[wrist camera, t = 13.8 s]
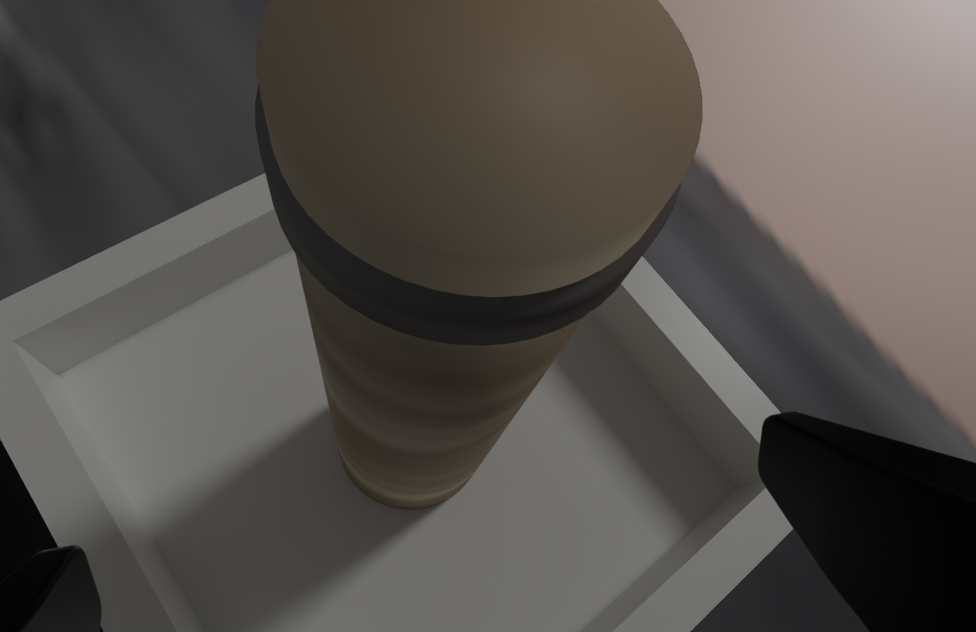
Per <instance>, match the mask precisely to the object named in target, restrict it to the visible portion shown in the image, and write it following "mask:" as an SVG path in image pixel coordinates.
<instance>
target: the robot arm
mask: <svg viewBox="0 0 976 632" xmlns="http://www.w3.org/2000/svg"><path fill="white" fill-rule="evenodd" d="M757 465H758V472H759V476H760V478H761V480H762V482H763V484H764V485H765V487H766V488H767V490H768V491H769V493H770V494H771V496H772V498H773V499H774V501H775V502H776V504H777V505H778V507H779V508H780V510H781V511H782V513H783V514H784V516H785V517H786V519H787V520H788V522H789V523H790V525H791V526H792V528H793V529H794V531H795V532H796V534H797V535H798V537H799V538H800V540H801V541H802V543H803V544H804V546H805V547H806V549H807V550H808V552H809V554H810V555H811V556H812V558H813V559H814V561H815V562H816V564H817V565H818V566H819V568H820V569H821V570H822V572H823V573H824V574H825V576H826V577H827V578H828V580H829V581H830V582H831V584H832V585H833V586H834V587H835V588H836V590H837V591H838V592H839V593H840V595H841V596H842V597H843V598H844V600H845V601H846V602H847V603H848V605H849V606H850V607H851V608H852V610H853V611H854V612H855V613H856V615H857V616H858V617H859V618H860V620H861V621H862V622H863V623H864V624H865V626H866V627H867V628H868V629H869V631H870V632H976V463H974V462H971V461H967V460H964V459H960V458H957V457H953V456H950V455H946V454H943V453H939V452H936V451H932V450H929V449H925V448H922V447H918V446H915V445H911V444H908V443H904V442H900V441H897V440H893V439H890V438H886V437H883V436H879V435H876V434H872V433H869V432H865V431H862V430H858V429H855V428H851V427H848V426H844V425H841V424H837V423H834V422H830V421H827V420H823V419H820V418H816V417H813V416H809V415H806V414H802V413H799V412H785V413H779V414H774V415H770V416H768V417H767V418H766V419H765V420H764V422H763V425H762V431H761V439H760V447H759V455H758V464H757ZM101 616H102V608H101V600H100V596H99V593H98V590H97V587H96V584H95V581H94V578H93V575H92V572H91V569H90V566H89V563H88V560H87V557H86V554H85V552H84V551H83V549H82V548H81V547H79V546H77V545H69V546H64V547H58V548H53V549H48V550H43V551H40V552H38V553H36V554H35V555H34V556H32V557H31V558H30V559H28V560H27V561H26V562H25V563H23V564H22V565H21V566H20V567H18V568H17V569H16V570H15V571H13V572H12V573H11V574H10V575H8V576H7V577H6V578H5V579H3V580H2V581H1V582H0V632H99V630H100V624H101Z"/></svg>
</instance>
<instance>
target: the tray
mask: <svg viewBox="0 0 976 632" xmlns="http://www.w3.org/2000/svg"><path fill="white" fill-rule="evenodd" d="M779 413H780V411H779V410H778V409H777V408H776V407H775V406H774V405H773V404H772V402H771V401H770V400H769V399H768V398H767V397H766V396H765V394H764V393H763V392H762V391H761V390H760V389H759V388H758V387H757V385H756V384H755V383H754V382H753V381H752V380H751V379H750V378H749V376H748V375H747V374H746V373H745V372H744V371H743V370H742V368H741V367H740V366H739V365H738V364H737V363H736V362H735V361H734V359H733V358H732V357H731V356H730V355H729V354H728V353H727V352H726V350H725V349H724V348H723V347H722V346H721V345H720V344H719V342H718V341H717V340H716V339H715V338H714V337H713V336H712V335H711V333H710V332H709V331H708V330H707V329H706V328H705V327H704V326H703V324H702V323H701V322H700V321H699V320H698V319H697V318H696V317H695V315H694V314H693V313H692V312H691V311H690V310H689V309H688V307H687V306H686V305H685V304H684V303H683V302H682V301H681V300H680V298H679V297H678V296H677V295H676V294H675V293H674V292H673V291H672V289H671V288H670V287H669V286H668V285H667V284H666V283H665V281H664V280H663V279H662V278H661V277H660V276H659V275H658V274H657V272H656V271H655V270H654V269H653V268H652V267H651V266H650V265H649V263H648V262H647V261H646V260H645V259H644V258H643V257H641V258H640V259H639V261H638V262H637V263H636V265H635V266H634V267H633V269H632V270H631V271H630V273H629V274H628V275H627V277H626V278H625V279H624V280H623V282H622V283H621V284H620V286H619V287H618V288H617V290H615V291H614V292H613V293H612V294H611V295H610V296H609V297H608V298H607V299H606V300H605V301H604V302H603V303H602V304H601V305H600V306H598V307H597V308H595V309H594V310H592V311H591V312H590V313H588V314H587V315H586V317H585V318H584V319H583V321H582V322H581V324H580V325H579V326H578V328H577V329H576V331H575V332H574V334H573V335H572V336H571V338H570V339H569V341H568V342H567V343H566V345H565V346H564V348H563V349H562V350H561V352H560V353H559V355H558V356H557V357H556V359H555V360H554V362H553V363H552V364H551V366H550V367H549V369H548V370H547V372H546V373H545V374H544V376H543V377H542V379H541V380H540V381H539V383H538V384H537V386H536V387H535V388H534V390H533V391H532V393H531V394H530V395H529V397H528V398H527V400H526V401H525V403H524V404H523V405H522V407H521V408H520V410H519V411H518V412H517V414H516V415H515V417H514V418H513V419H512V421H511V422H510V424H509V425H508V426H507V428H506V429H505V431H504V432H503V433H502V435H501V436H500V438H499V439H498V441H497V442H496V443H495V445H494V446H493V448H492V449H491V450H490V452H489V453H488V455H487V456H486V457H485V459H484V460H483V462H482V463H481V464H480V466H479V467H478V469H477V470H476V471H475V473H474V474H473V476H472V477H471V478H470V480H469V481H468V482H467V484H466V485H465V486H464V487H463V488H462V489H461V490H460V491H459V492H457V493H456V494H455V495H453V496H452V497H451V498H449V499H447V500H446V501H444V502H442V503H439V504H437V505H434V506H431V507H427V508H423V509H414V510H409V509H398V508H392V507H389V506H386V505H383V504H381V503H379V502H376V501H374V500H373V499H371V498H370V497H368V496H367V495H365V494H364V493H363V492H362V491H361V490H359V489H358V488H357V486H356V485H355V484H354V483H353V482H352V480H351V479H350V478H349V476H348V475H347V473H346V471H345V469H344V467H343V465H342V462H341V459H340V455H339V451H338V446H337V442H336V437H335V432H334V428H333V423H332V419H331V414H330V410H329V405H328V400H327V396H326V391H325V387H324V382H323V378H322V373H321V369H320V364H319V359H318V355H317V350H316V346H315V341H314V337H313V332H312V327H311V323H310V318H309V314H308V309H307V305H306V300H305V295H304V291H303V286H302V282H301V277H300V273H299V268H298V264H297V259H296V254H295V252H294V250H293V249H292V247H291V245H290V243H289V242H288V240H287V238H286V236H285V234H284V232H283V230H282V228H281V226H280V223H279V220H278V217H277V215H276V212H275V209H274V206H273V202H272V198H271V194H270V190H269V186H268V182H267V178H266V174H265V173H264V174H262V175H260V176H258V177H256V178H254V179H252V180H249V181H247V182H245V183H243V184H241V185H239V186H237V187H235V188H233V189H231V190H229V191H227V192H225V193H223V194H220V195H218V196H216V197H214V198H212V199H210V200H208V201H206V202H204V203H202V204H200V205H198V206H196V207H194V208H191V209H189V210H187V211H185V212H183V213H181V214H179V215H177V216H175V217H173V218H171V219H169V220H167V221H165V222H162V223H160V224H158V225H156V226H154V227H152V228H150V229H148V230H146V231H144V232H142V233H140V234H138V235H136V236H134V237H131V238H129V239H127V240H125V241H123V242H121V243H119V244H117V245H115V246H113V247H111V248H109V249H107V250H105V251H102V252H100V253H98V254H96V255H94V256H92V257H90V258H88V259H86V260H84V261H82V262H80V263H78V264H76V265H73V266H71V267H69V268H67V269H65V270H63V271H61V272H59V273H57V274H55V275H53V276H51V277H49V278H47V279H45V280H42V281H40V282H38V283H36V284H34V285H32V286H30V287H28V288H26V289H24V290H22V291H20V292H18V293H16V294H13V295H11V296H9V297H7V298H5V299H3V300H1V301H0V439H1V441H2V443H3V445H4V447H5V448H6V450H7V452H8V454H9V456H10V458H11V460H12V461H13V463H14V465H15V467H16V469H17V471H18V473H19V475H20V476H21V478H22V480H23V482H24V484H25V486H26V488H27V489H28V491H29V493H30V495H31V497H32V499H33V501H34V502H35V504H36V506H37V508H38V510H39V512H40V514H41V515H42V517H43V519H44V521H45V523H46V525H47V527H48V529H49V530H50V532H51V534H52V536H53V538H54V540H55V542H56V543H57V545H58V547H64V546H69V545H77V546H79V547H81V548H82V549H83V551H84V552H85V554H86V557H87V560H88V563H89V566H90V569H91V572H92V575H93V578H94V581H95V584H96V587H97V590H98V593H99V596H100V600H101V608H102V616H101V624H100V625H101V627H102V629H103V631H104V632H690V631H691V630H692V629H693V628H694V627H695V626H696V625H697V624H698V623H699V622H700V621H701V620H702V619H703V618H704V617H705V616H706V615H707V614H708V613H709V612H710V611H711V610H712V609H713V608H714V607H715V606H716V605H717V604H718V603H719V602H720V601H721V600H722V599H723V598H724V597H725V596H726V595H727V594H728V593H729V592H730V591H731V590H732V589H733V588H734V587H735V586H736V585H737V584H738V583H739V582H740V581H741V580H742V579H743V578H744V577H745V576H746V575H747V574H748V573H749V572H750V571H751V570H752V569H753V568H754V567H755V566H756V565H757V564H758V563H759V562H761V561H762V560H763V559H764V558H765V557H766V556H767V555H768V554H769V553H770V552H771V551H772V550H773V549H774V548H775V547H776V546H777V545H778V544H779V543H780V542H781V541H782V540H783V539H784V538H785V537H786V536H787V535H788V534H789V533H790V532H791V531H792V530H793V528H792V526H791V525H790V523H789V522H788V520H787V519H786V517H785V516H784V514H783V513H782V511H781V510H780V508H779V507H778V505H777V504H776V502H775V501H774V499H773V498H772V496H771V494H770V493H769V491H768V490H767V488H766V487H765V485H764V484H763V482H762V480H761V478H760V476H759V472H758V465H757V464H758V455H759V447H760V439H761V431H762V425H763V422H764V420H765V419H766V418H767V417H768V416H770V415H774V414H779Z"/></svg>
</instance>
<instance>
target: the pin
mask: <svg viewBox="0 0 976 632" xmlns="http://www.w3.org/2000/svg"><path fill="white" fill-rule="evenodd" d="M257 78H258V83H259V84H258V90H257V96H256V102H255V126H256V132H257V138H258V143H259V149H260V154H261V158H262V162H263V166H264V170H265V174H266V178H267V182H268V186H269V190H270V194H271V198H272V202H273V206H274V209H275V212H276V215H277V217H278V220H279V223H280V226H281V228H282V230H283V232H284V234H285V236H286V238H287V240H288V242H289V243H290V245H291V247H292V249H293V250H294V252H295V254H296V259H297V264H298V268H299V273H300V277H301V282H302V286H303V291H304V295H305V300H306V305H307V309H308V314H309V318H310V323H311V327H312V332H313V337H314V341H315V346H316V350H317V355H318V359H319V364H320V369H321V373H322V378H323V382H324V387H325V391H326V396H327V400H328V405H329V410H330V414H331V419H332V423H333V428H334V432H335V437H336V442H337V446H338V451H339V455H340V459H341V462H342V465H343V467H344V469H345V471H346V473H347V475H348V476H349V478H350V479H351V480H352V482H353V483H354V484H355V485H356V486H357V488H358V489H359V490H361V491H362V492H363V493H364V494H365V495H367V496H368V497H370V498H371V499H373V500H374V501H376V502H379V503H381V504H383V505H386V506H389V507H392V508H398V509H409V510H414V509H423V508H427V507H431V506H434V505H437V504H439V503H442V502H444V501H446V500H447V499H449V498H451V497H452V496H453V495H455V494H456V493H457V492H459V491H460V490H461V489H462V488H463V487H464V486H465V485H466V484H467V482H468V481H469V480H470V478H471V477H472V476H473V474H474V473H475V471H476V470H477V469H478V467H479V466H480V464H481V463H482V462H483V460H484V459H485V457H486V456H487V455H488V453H489V452H490V450H491V449H492V448H493V446H494V445H495V443H496V442H497V441H498V439H499V438H500V436H501V435H502V433H503V432H504V431H505V429H506V428H507V426H508V425H509V424H510V422H511V421H512V419H513V418H514V417H515V415H516V414H517V412H518V411H519V410H520V408H521V407H522V405H523V404H524V403H525V401H526V400H527V398H528V397H529V395H530V394H531V393H532V391H533V390H534V388H535V387H536V386H537V384H538V383H539V381H540V380H541V379H542V377H543V376H544V374H545V373H546V372H547V370H548V369H549V367H550V366H551V364H552V363H553V362H554V360H555V359H556V357H557V356H558V355H559V353H560V352H561V350H562V349H563V348H564V346H565V345H566V343H567V342H568V341H569V339H570V338H571V336H572V335H573V334H574V332H575V331H576V329H577V328H578V326H579V325H580V324H581V322H582V321H583V319H584V318H585V317H586V315H587V314H588V313H590V312H591V311H592V310H594V309H595V308H597V307H598V306H600V305H601V304H602V303H603V302H604V301H605V300H606V299H607V298H608V297H609V296H610V295H611V294H612V293H613V292H614V291H615V290H617V288H618V287H619V286H620V284H621V283H622V282H623V280H624V279H625V278H626V277H627V275H628V274H629V273H630V271H631V270H632V269H633V267H634V266H635V265H636V263H637V262H638V261H639V259H640V258H641V257H642V255H643V254H644V253H645V251H646V250H647V249H648V247H649V246H650V245H651V243H652V242H653V241H654V239H655V238H656V237H657V235H658V234H659V233H660V231H661V230H662V228H663V227H664V225H665V223H666V221H667V219H668V217H669V215H670V213H671V212H672V210H673V207H674V204H675V201H676V198H677V196H678V193H679V190H680V186H681V181H682V179H683V178H684V176H685V174H686V172H687V170H688V168H689V166H690V165H691V163H692V160H693V157H694V154H695V151H696V148H697V145H698V142H699V138H700V131H701V124H702V94H701V88H700V82H699V76H698V73H697V69H696V67H695V63H694V60H693V57H692V54H691V52H690V50H689V48H688V46H687V44H686V42H685V40H684V37H683V36H682V33H681V32H680V30H679V29H678V27H677V26H676V24H675V22H674V21H673V19H672V18H671V16H670V15H669V13H668V12H667V11H666V10H665V9H664V7H663V6H662V5H661V4H660V2H659V1H658V0H271V1H270V3H269V4H268V7H267V10H266V13H265V15H264V18H263V21H262V24H261V27H260V32H259V38H258V44H257Z"/></svg>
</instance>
